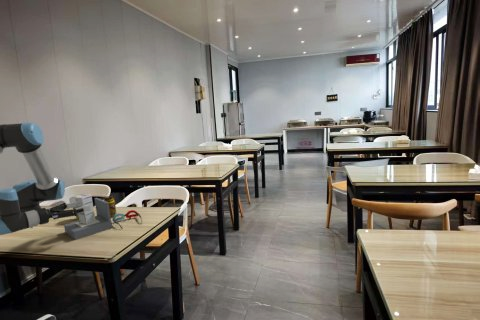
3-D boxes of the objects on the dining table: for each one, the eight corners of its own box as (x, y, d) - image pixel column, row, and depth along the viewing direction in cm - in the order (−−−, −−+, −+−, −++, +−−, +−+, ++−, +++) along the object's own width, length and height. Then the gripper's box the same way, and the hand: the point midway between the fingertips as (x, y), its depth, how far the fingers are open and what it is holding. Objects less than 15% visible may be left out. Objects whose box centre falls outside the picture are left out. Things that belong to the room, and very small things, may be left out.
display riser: (65, 232, 161) (60, 206, 159) (100, 221, 174) (96, 197, 171) (75, 239, 150) (70, 212, 148) (112, 228, 162) (108, 202, 160)
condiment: (118, 216, 181) (115, 196, 179) (103, 220, 176) (100, 200, 174) (115, 213, 187) (113, 194, 185) (100, 217, 182) (97, 197, 180)
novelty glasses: (137, 216, 179) (136, 208, 178) (145, 223, 166) (144, 215, 166) (112, 223, 171) (111, 214, 170) (118, 230, 159) (117, 221, 158)
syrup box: (96, 220, 162) (92, 194, 160) (86, 224, 157) (81, 197, 155) (88, 219, 165) (84, 193, 162) (78, 223, 160) (74, 196, 157)
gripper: (32, 219, 154) (77, 208, 169) (46, 231, 136) (95, 216, 151) (29, 205, 153) (75, 194, 167) (43, 214, 135) (93, 202, 150)
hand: (84, 205), depth 159 cm, fingers open, 13 cm apart
